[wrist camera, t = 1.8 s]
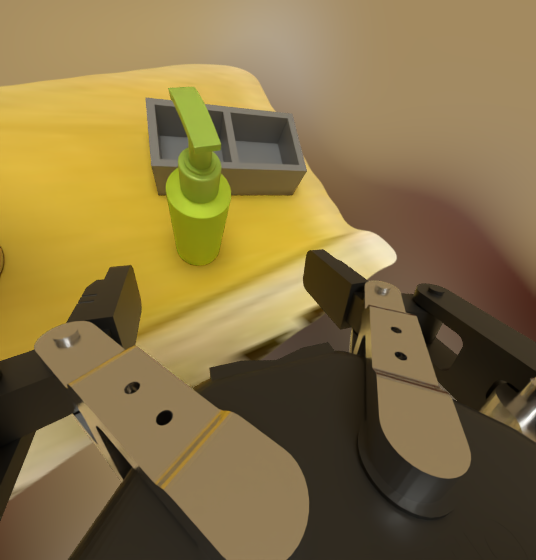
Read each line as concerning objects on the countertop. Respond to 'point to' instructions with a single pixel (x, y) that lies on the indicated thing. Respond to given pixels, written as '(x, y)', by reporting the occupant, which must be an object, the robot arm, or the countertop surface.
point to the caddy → (232, 147)
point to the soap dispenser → (197, 183)
